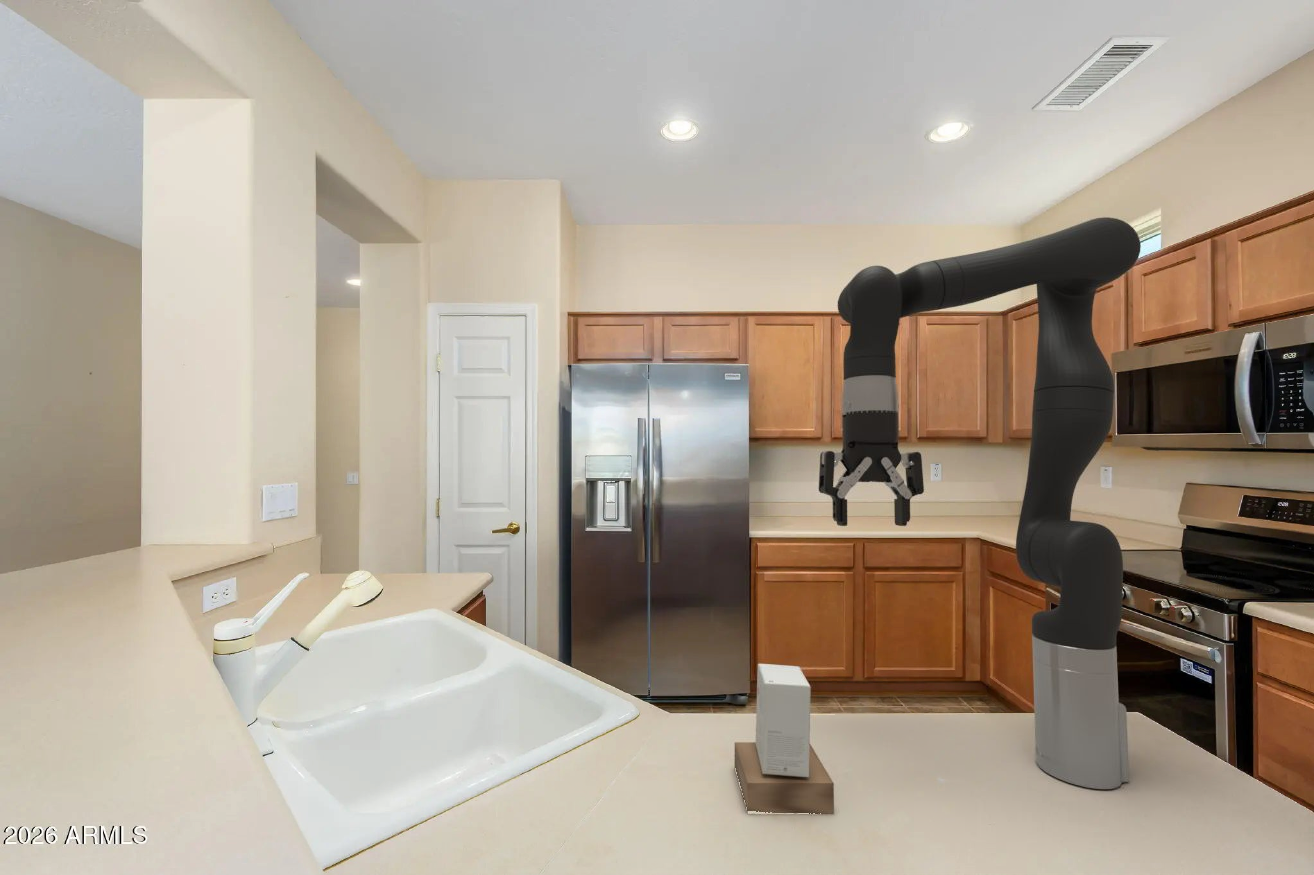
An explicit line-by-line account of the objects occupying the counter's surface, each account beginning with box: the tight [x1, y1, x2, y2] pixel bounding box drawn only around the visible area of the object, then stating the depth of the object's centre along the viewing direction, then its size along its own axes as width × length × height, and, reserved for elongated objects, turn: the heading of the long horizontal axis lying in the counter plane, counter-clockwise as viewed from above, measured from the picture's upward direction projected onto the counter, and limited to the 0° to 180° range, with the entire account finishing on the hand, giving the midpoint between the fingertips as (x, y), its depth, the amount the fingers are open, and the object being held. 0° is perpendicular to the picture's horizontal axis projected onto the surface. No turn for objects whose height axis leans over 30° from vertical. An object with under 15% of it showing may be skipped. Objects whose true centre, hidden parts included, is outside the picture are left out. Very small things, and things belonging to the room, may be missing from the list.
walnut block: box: [734, 741, 835, 816], centre depth 71 cm, size 10×10×4 cm
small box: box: [755, 663, 812, 777], centre depth 71 cm, size 8×6×10 cm
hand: (871, 525), depth 80 cm, fingers open, 8 cm apart
